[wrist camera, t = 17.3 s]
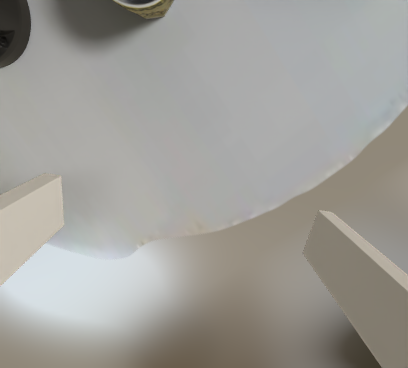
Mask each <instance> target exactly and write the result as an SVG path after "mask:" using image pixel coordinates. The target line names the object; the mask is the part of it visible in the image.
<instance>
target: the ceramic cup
mask: <svg viewBox="0 0 408 368" xmlns="http://www.w3.org/2000/svg"><path fill="white" fill-rule="evenodd" d="M113 1H114V2H116V3H117V4H119V5H120V6H122V7H124V8H125V9H127V10H129V11H131V12H134V13H136V14H138V15H140V16H142V17H143V18H145V19H151V18H157V17H164V16H165V15H166V13H167V11H168V10H169V8H170V6H171V5H172V3H173V1H174V0H113Z"/></svg>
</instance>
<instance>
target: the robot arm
mask: <svg viewBox="0 0 408 368" xmlns="http://www.w3.org/2000/svg"><path fill="white" fill-rule="evenodd" d="M30 30H31V19H30V11H29V6H28V3H27V0H0V68H1V67H4V66H7V65H9V64H11V63H13V62H14V61H15V60H17V59H18V58H19V57H20V56H21V54H22V53H23V52H24V50H25V48H26V46H27V44H28V41H29V37H30ZM63 226H64V217H63V200H62V183H61V176H60V175H53V174H46V173H44V174H42V175H40V176H38V177H36V178H34V179H32V180H30V181H28V182H26V183H24V184H22V185H20V186H18V187H16V188H14V189H12V190H10V191H7V192H5V193H3V194H1V195H0V286H1V285H2V284H3V283H4V282H5V281H6V280H7V279H8V278H9V277H10V276H11V275H12V274H13V273H15V271H17V270H18V269H19V267H21V266H22V265H23V264H24V263H25V262H26V261H27V260H28V259H29V258H30V257H31V256H32V255H33V254H34V253H35V252H36V251H38V250H39V249H40V248H41V246H43V245H44V244H45V243H46V242H47V241H48V240H49V239H50V238H51V237H52V236H53V235H54V234H55V233H56V232H57V231H58V230H59V229H60V228H62V227H63ZM303 254H304V256H305V257H306V259H307V260H308V262H309V263H310V265H311V266H312V267H313V269H314V270H315V272H316V273H317V274H318V276H319V278H320V279H321V280H322V282H323V283H324V284H325V286H326V287H327V289H328V291H329V292H330V293H331V295H332V296H333V298H334V299H335V300H336V302H337V303H338V305H339V306H340V308H341V309H342V311H343V312H344V314H345V315H346V316H347V318H348V319H349V321H350V322H351V324H352V325H353V326H354V328H355V329H356V330H357V332H358V334H359V335H360V337H361V338H362V340H363V341H364V342H365V344H366V345H367V347H368V348H369V350H370V351H371V352H372V354H373V355H374V357H375V358H376V360H377V361H378V363H379V364H380V365H381V367H382V368H408V275H407V274H406V273H405V272H403V271H402V270H401V269H400V268H399V267H397V266H396V265H395V264H394V263H393V262H391V261H390V260H389V259H388V258H387V257H385V256H384V255H383V254H382V253H381V252H379V251H378V250H377V249H376V248H374V247H373V246H372V245H371V244H370V243H369V242H367V241H366V240H365V239H364V238H363V237H361V236H360V235H359V234H358V233H356V232H355V231H354V230H353V229H352V228H350V227H349V226H348V225H347V224H346V223H344V222H343V221H342V220H341V219H340V218H338V217H337V216H336V215H335V214H333V213H332V212H328V211H321V210H318V212H317V215H316V218H315V220H314V223H313V226H312V229H311V231H310V234H309V237H308V240H307V242H306V245H305V248H304V250H303Z"/></svg>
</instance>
